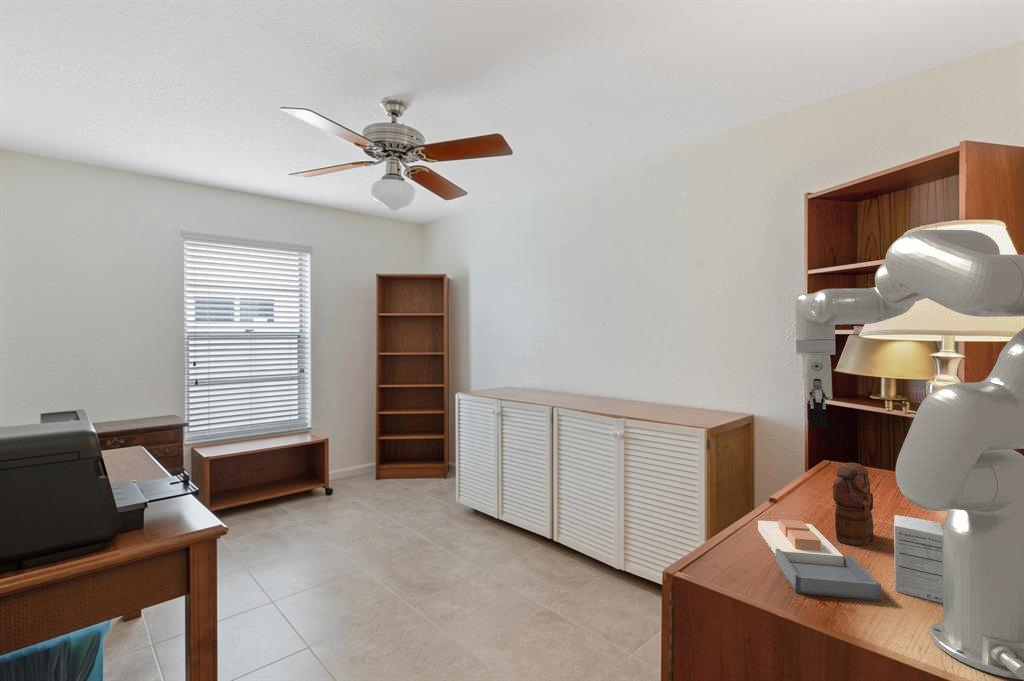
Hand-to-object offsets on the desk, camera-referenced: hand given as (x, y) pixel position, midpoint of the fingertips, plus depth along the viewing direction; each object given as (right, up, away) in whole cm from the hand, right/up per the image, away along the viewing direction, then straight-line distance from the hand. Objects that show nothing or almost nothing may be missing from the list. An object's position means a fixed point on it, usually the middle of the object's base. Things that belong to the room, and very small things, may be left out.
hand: (816, 423), depth 109 cm
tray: (-7, -29, -13) cm, 32 cm away
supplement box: (+9, -29, -17) cm, 35 cm away
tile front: (-4, -26, -2) cm, 27 cm away
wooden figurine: (+13, -29, +6) cm, 32 cm away
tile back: (-3, -26, +4) cm, 27 cm away
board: (-3, -29, +2) cm, 29 cm away
